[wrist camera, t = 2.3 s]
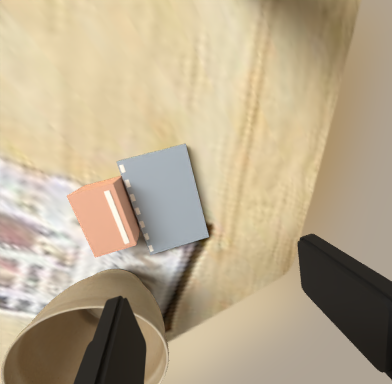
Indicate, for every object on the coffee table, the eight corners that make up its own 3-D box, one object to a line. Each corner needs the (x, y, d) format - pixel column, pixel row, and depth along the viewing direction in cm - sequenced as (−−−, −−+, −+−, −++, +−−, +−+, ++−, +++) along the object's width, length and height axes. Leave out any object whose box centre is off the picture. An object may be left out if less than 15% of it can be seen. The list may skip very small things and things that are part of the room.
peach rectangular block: (121, 175, 26) (112, 183, 21) (140, 227, 28) (136, 245, 23) (84, 185, 26) (66, 196, 21) (106, 237, 28) (94, 257, 23)
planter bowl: (180, 310, 33) (188, 386, 23) (89, 347, 32) (54, 445, 22) (144, 232, 29) (134, 283, 18) (36, 272, 28) (-40, 352, 17)
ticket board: (184, 143, 26) (185, 144, 25) (206, 232, 30) (209, 237, 29) (119, 160, 26) (116, 161, 24) (150, 249, 30) (150, 255, 28)
